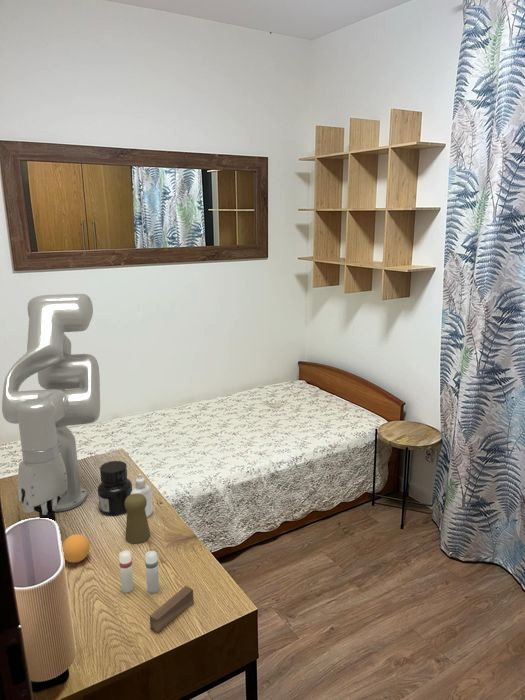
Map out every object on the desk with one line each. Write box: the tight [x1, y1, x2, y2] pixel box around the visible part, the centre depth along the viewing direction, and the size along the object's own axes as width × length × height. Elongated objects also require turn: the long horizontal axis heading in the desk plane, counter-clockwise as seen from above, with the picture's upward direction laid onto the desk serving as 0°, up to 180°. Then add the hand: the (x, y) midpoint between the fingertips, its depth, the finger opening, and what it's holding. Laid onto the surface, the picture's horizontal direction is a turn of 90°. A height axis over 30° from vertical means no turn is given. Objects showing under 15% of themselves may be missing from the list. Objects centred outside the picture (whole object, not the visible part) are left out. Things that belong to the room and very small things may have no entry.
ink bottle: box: [97, 460, 133, 516], centre depth 139 cm, size 10×9×12 cm
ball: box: [61, 534, 91, 564], centre depth 119 cm, size 6×6×6 cm
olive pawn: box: [124, 493, 151, 545], centre depth 126 cm, size 6×6×11 cm
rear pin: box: [144, 550, 160, 594], centre depth 109 cm, size 2×2×8 cm
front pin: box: [118, 549, 135, 594], centre depth 109 cm, size 2×2×8 cm
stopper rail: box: [149, 585, 195, 634], centre depth 103 cm, size 2×10×3 cm, turn 145°
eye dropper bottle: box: [130, 473, 154, 518], centre depth 135 cm, size 4×6×12 cm
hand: (48, 526), depth 122 cm, fingers closed
